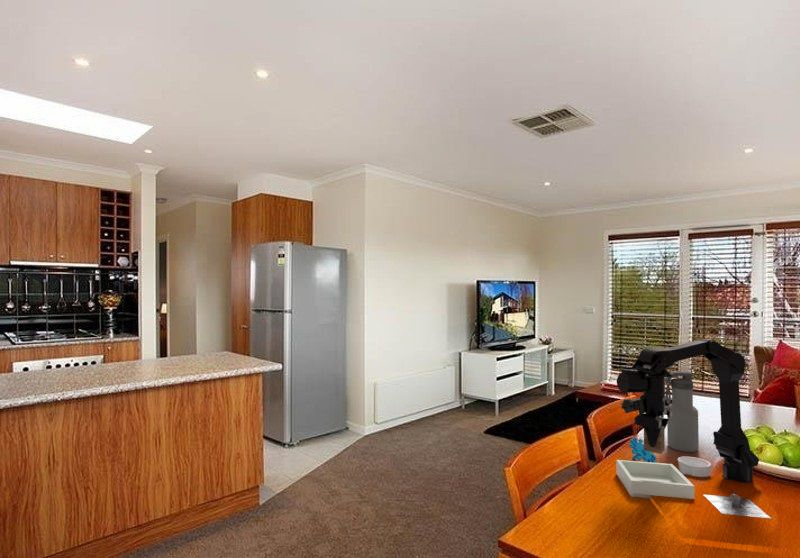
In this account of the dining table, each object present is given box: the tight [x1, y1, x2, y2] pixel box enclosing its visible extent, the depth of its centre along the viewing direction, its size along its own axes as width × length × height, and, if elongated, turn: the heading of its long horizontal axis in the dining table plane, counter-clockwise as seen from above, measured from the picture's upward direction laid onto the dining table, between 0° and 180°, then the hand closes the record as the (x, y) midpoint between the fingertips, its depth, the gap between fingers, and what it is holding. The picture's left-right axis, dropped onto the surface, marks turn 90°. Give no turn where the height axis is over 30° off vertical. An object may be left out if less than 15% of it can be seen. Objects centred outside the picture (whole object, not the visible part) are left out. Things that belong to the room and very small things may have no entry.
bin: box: [616, 459, 695, 500], centre depth 133 cm, size 16×16×4 cm
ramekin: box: [677, 455, 712, 478], centre depth 142 cm, size 9×9×4 cm
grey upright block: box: [643, 426, 666, 455], centre depth 133 cm, size 4×4×7 cm
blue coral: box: [628, 437, 658, 463], centre depth 153 cm, size 11×6×10 cm
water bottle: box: [665, 370, 700, 453], centre depth 166 cm, size 10×10×28 cm
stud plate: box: [703, 493, 771, 519], centre depth 119 cm, size 11×11×4 cm
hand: (654, 444), depth 133 cm, fingers closed on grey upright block, 4 cm apart
